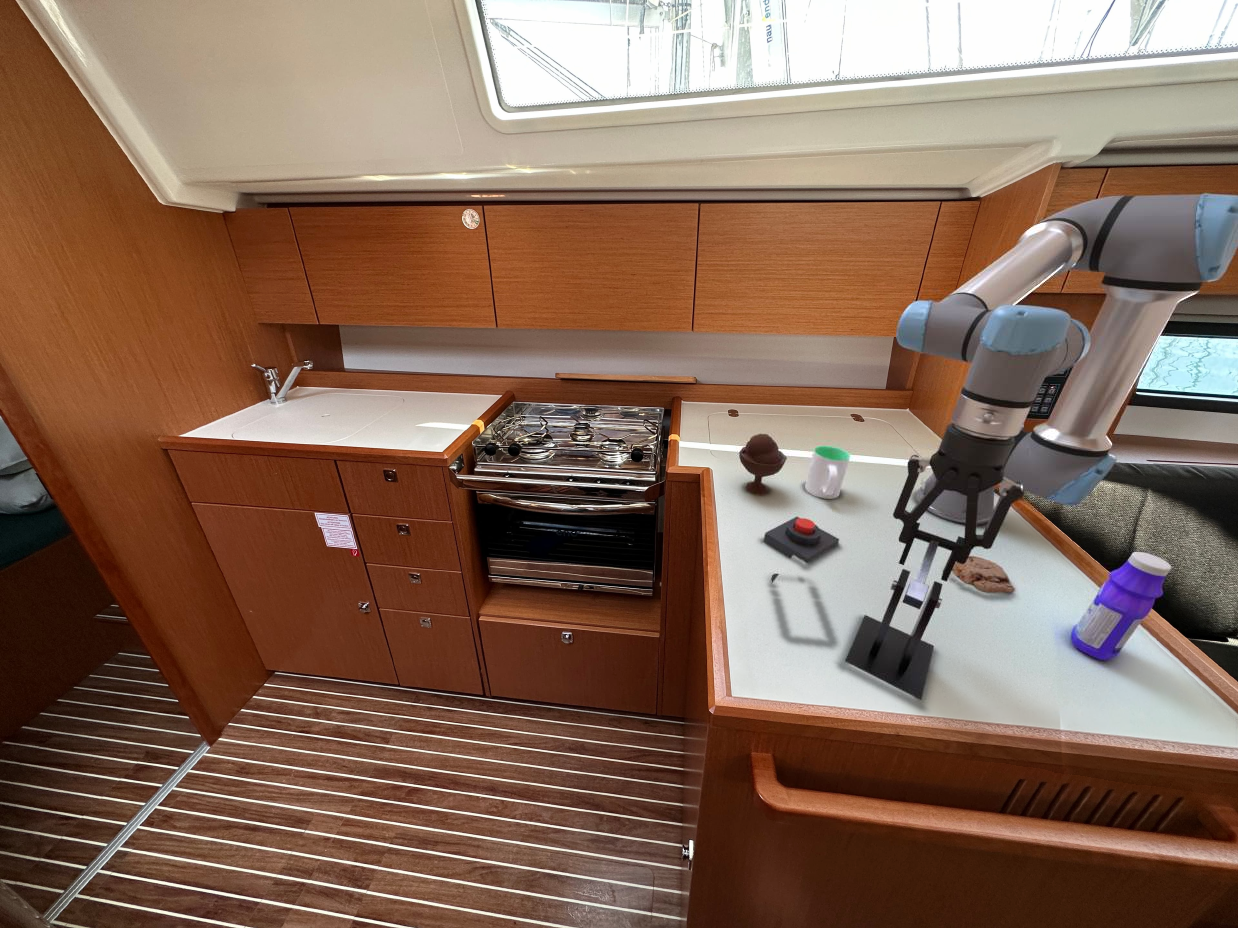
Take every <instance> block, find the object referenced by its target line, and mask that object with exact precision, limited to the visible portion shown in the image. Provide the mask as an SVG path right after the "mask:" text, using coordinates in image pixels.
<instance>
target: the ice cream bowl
mask: <svg viewBox="0 0 1238 928" xmlns="http://www.w3.org/2000/svg"><path fill="white" fill-rule="evenodd" d="M779 449H780V448H779V446H778V444H777V442H776V441H775V440H774V439H773V437H772V436H771V435H769V434H767V433H757V434H755V435H753V436H751V437H750V439H749V441H747V442H746V444H745V446H743V447H742V448H741V449H740V451H739V452H738V456H739V460H740V463H741V464H742V466H743V467H744V468H745V470H746V471H747V473H750V474H751V475H753V476H754V479H753V481H749V482H747V483H746V484H745V486H744V489H745V490H746V491H747V492H748V493H751V494H755V495H764V494H767V492H769V491H768V490H769V489H768V487H767V486H766V484H764V483H763V482H762V480H763V478H764V477H770V476H774V475H775V474H778V473H779V472H780V471H781V470H782V469H783V467H784V465H785V464H786V461H787V459H788V457H787V456H786V455H785V454H784V452H783V451H781V450H779Z"/></svg>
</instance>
